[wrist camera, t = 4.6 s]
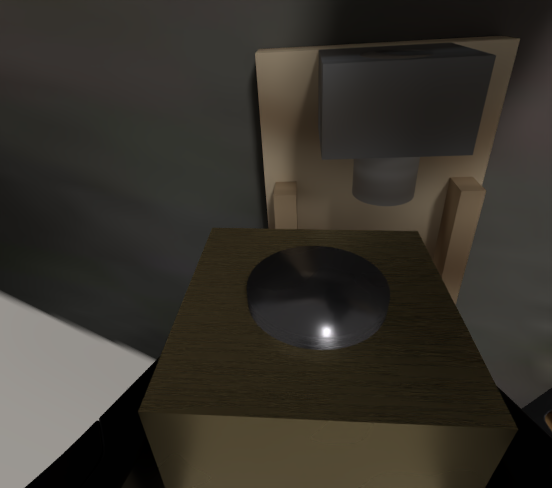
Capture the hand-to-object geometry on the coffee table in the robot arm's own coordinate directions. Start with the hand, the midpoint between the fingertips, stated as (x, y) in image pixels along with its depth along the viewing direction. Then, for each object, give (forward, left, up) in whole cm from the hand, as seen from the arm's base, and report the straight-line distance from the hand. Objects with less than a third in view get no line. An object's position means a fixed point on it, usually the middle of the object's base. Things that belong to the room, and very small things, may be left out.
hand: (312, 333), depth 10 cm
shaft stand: (-3, +3, -11) cm, 12 cm away
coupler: (0, 0, -1) cm, 1 cm away
